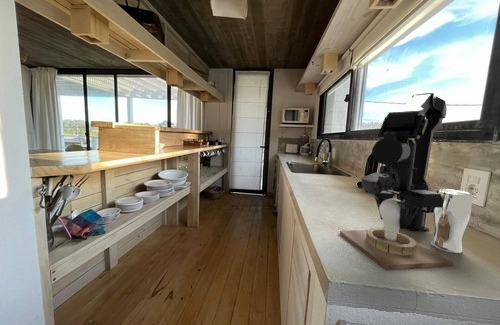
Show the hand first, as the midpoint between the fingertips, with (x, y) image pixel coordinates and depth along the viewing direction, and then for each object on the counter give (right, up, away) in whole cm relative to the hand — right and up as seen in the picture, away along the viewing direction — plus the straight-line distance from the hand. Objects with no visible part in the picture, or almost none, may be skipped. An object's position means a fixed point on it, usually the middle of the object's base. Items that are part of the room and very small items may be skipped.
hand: (392, 223), depth 54 cm
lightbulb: (0, -5, 0) cm, 5 cm away
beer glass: (+16, -7, +2) cm, 17 cm away
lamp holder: (0, -6, +1) cm, 6 cm away
